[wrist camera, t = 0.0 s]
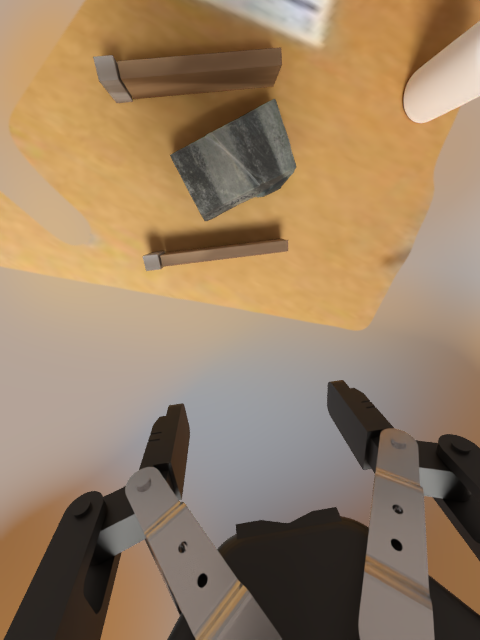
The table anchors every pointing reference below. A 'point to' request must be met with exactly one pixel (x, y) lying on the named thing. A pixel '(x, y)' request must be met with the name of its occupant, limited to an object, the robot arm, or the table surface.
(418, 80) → the can
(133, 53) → the table surface
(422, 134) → the table surface
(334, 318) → the table surface
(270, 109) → the stone block
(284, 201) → the table surface
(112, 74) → the pair of wooden rails
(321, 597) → the robot arm
